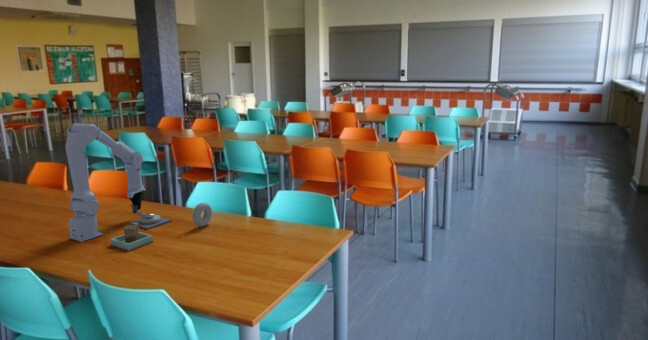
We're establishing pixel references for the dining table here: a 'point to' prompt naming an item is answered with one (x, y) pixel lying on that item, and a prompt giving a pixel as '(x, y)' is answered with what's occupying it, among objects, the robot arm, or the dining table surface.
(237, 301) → the dining table surface
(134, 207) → the crank
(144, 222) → the crank base
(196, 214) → the donut
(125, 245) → the tray
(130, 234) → the block
